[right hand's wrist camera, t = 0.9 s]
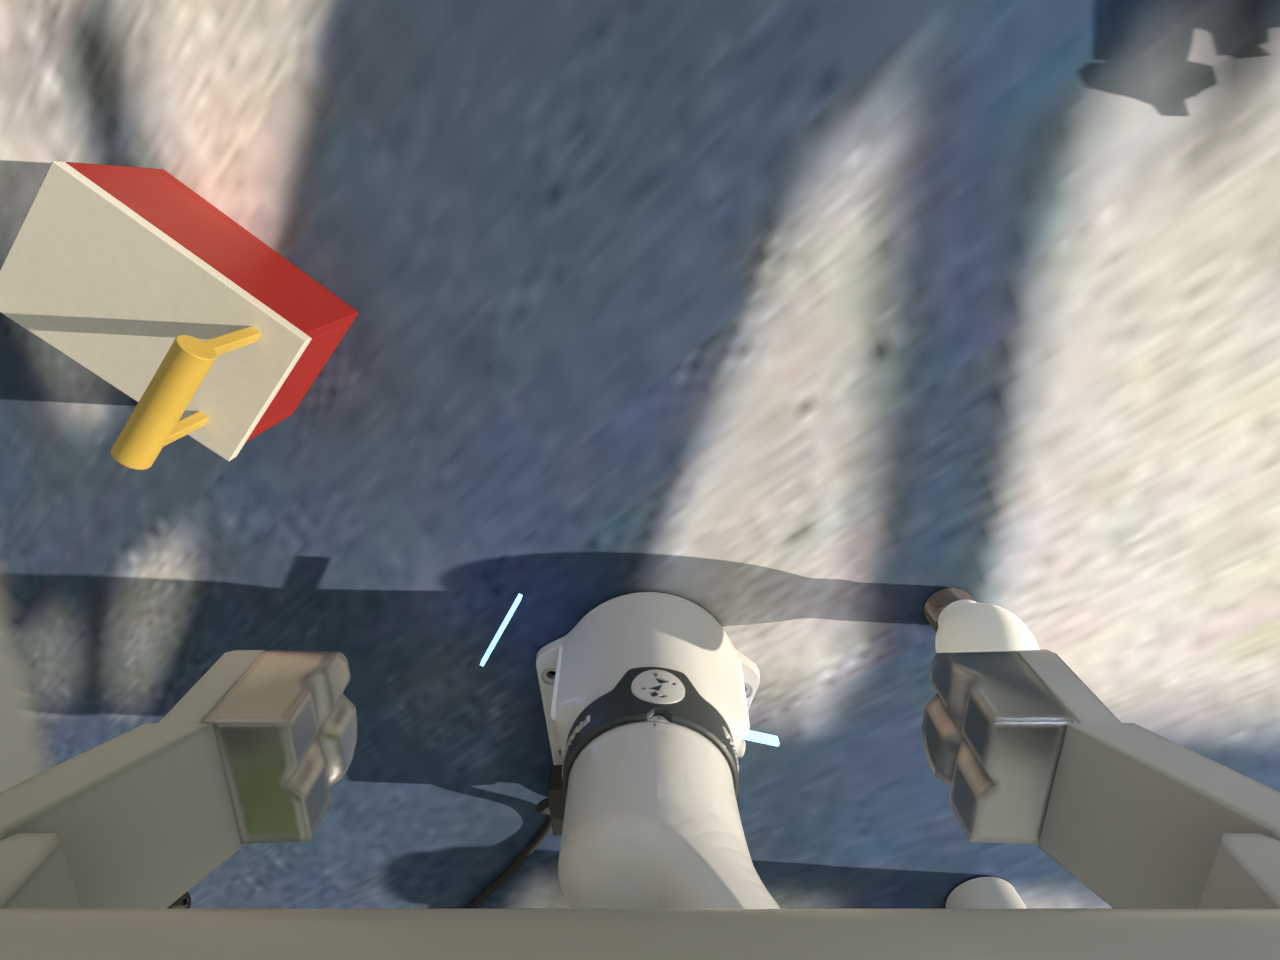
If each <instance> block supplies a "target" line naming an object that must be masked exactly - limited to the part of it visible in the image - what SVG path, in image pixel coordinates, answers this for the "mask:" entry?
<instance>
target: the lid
mask: <svg viewBox="0 0 1280 960" xmlns="http://www.w3.org/2000/svg"><path fill="white" fill-rule="evenodd" d="M0 312H1V313H2V314H4V315H5V316H7V317H8V318H10V319H11V320H13V321H15V322H16V323H18V324H19V325H21V326H22V327H24V328H25V329H27V330H28V331H30V332H31V333H33V334H34V335H36V336H37V337H39V338H41V339H42V340H44V341H45V342H47V343H48V344H50V345H51V346H53V347H54V348H56V349H57V350H59V351H60V352H62V353H63V354H65V355H67V356H68V357H70V358H71V359H73V360H74V361H76V362H77V363H79V364H80V365H82V366H83V367H85V368H86V369H88V370H89V371H91V372H93V373H94V374H96V375H97V376H99V377H100V378H102V379H103V380H105V381H106V382H108V383H109V384H111V385H112V386H114V387H115V388H117V389H119V390H120V391H122V392H123V393H125V394H126V395H128V396H129V397H131V398H132V399H134V400H135V401H137V402H138V404H137V406H136V407H135V409H134V411H133V413H132V414H131V416H130V418H129V420H128V421H127V423H126V425H125V426H124V428H123V430H122V432H121V433H120V435H119V437H118V439H117V440H116V442H115V444H114V445H113V447H112V449H111V455H112V457H113V458H114V459H115V460H116V461H117V462H118V463H120V464H122V465H123V466H126V467H128V468H132V469H137V470H144V469H148V468H149V467H151V466H152V464H153V462H154V461H155V459H156V457H157V456H158V454H159V452H160V451H161V449H162V448H163V446H165V445H167V444H169V443H171V442H173V441H175V440H177V439H179V438H181V437H183V436H185V435H189V436H190V437H192V438H194V439H195V440H197V441H198V442H200V443H201V444H203V445H204V446H206V447H207V448H209V449H210V450H212V451H213V452H215V453H216V454H218V455H220V456H221V457H223V458H224V459H226V460H227V461H230V460H232V459H233V458H235V457H236V456H237V455H238V453H239V451H240V450H241V448H242V447H243V445H244V444H245V442H246V441H247V439H248V437H249V436H250V434H251V433H252V431H253V430H254V428H255V427H256V425H257V423H258V422H259V420H260V419H261V417H262V416H263V414H264V413H265V411H266V409H267V408H268V406H269V405H270V403H271V402H272V400H273V399H274V397H275V395H276V394H277V392H278V391H279V389H280V388H281V386H282V385H283V383H284V381H285V380H286V378H287V377H288V375H289V374H290V372H291V371H292V369H293V367H294V366H295V364H296V363H297V361H298V360H299V358H300V357H301V355H302V353H303V352H304V350H305V349H306V347H307V346H308V344H309V343H310V341H311V339H312V338H311V337H309V336H308V335H306V334H305V333H304V332H302V331H301V330H299V329H298V328H297V327H295V326H294V325H292V324H291V323H290V322H288V321H287V320H285V319H284V318H283V317H281V316H280V315H278V314H277V313H276V312H274V311H273V310H271V309H270V308H269V307H267V306H266V305H264V304H263V303H262V302H260V301H259V300H257V299H256V298H255V297H253V296H252V295H250V294H249V293H248V292H246V291H245V290H243V289H242V288H241V287H239V286H238V285H236V284H235V283H234V282H232V281H231V280H229V279H228V278H227V277H225V276H224V275H222V274H221V273H220V272H218V271H217V270H215V269H214V268H213V267H211V266H210V265H208V264H207V263H206V262H204V261H203V260H201V259H200V258H199V257H197V256H196V255H194V254H193V253H192V252H190V251H189V250H187V249H186V248H185V247H183V246H182V245H180V244H179V243H178V242H176V241H175V240H173V239H172V238H171V237H169V236H168V235H166V234H165V233H163V232H162V231H161V230H159V229H158V228H156V227H155V226H154V225H152V224H151V223H149V222H148V221H147V220H145V219H144V218H142V217H141V216H140V215H138V214H137V213H135V212H134V211H133V210H131V209H130V208H128V207H127V206H126V205H124V204H123V203H121V202H120V201H119V200H117V199H116V198H114V197H113V196H112V195H110V194H109V193H107V192H106V191H105V190H103V189H102V188H100V187H99V186H98V185H96V184H95V183H93V182H92V181H91V180H89V179H88V178H86V177H85V176H84V175H82V174H81V173H79V172H78V171H77V170H75V169H74V168H72V167H71V166H70V165H68V164H67V163H65V162H58V161H53V162H52V164H51V166H50V168H49V170H48V172H47V174H46V176H45V178H44V180H43V182H42V184H41V186H40V189H39V191H38V193H37V195H36V197H35V199H34V201H33V203H32V205H31V207H30V209H29V211H28V213H27V216H26V218H25V220H24V222H23V224H22V226H21V228H20V230H19V232H18V234H17V236H16V238H15V240H14V243H13V245H12V247H11V249H10V251H9V253H8V255H7V257H6V259H5V261H4V263H3V265H2V267H1V270H0Z"/></svg>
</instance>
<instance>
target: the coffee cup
mask: <svg viewBox="0 0 1280 960" xmlns="http://www.w3.org/2000/svg"><path fill="white" fill-rule="evenodd" d="M945 909H1027V908H1026V906H1025V904H1024V903H1023V901H1022V900H1021V898H1020V897H1019V895H1018V894H1017V892H1016V890H1015V889H1014V887H1013V886H1012V885H1011V884H1010V883H1008V882H1007V881H1005V880H1003V879H1000V878H995V877H979V878H975V879H971V880H968V881H966V882H964V883H962V884H960V885H959V886H958V887H956V888H955V889H954V890H953V891H952V892H951V893H950V895H949V896H948V898H947V901H946V905H945Z"/></svg>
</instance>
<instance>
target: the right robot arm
mask: <svg viewBox="0 0 1280 960" xmlns="http://www.w3.org/2000/svg"><path fill="white" fill-rule="evenodd" d="M522 596H523V595H522V594H518V596H517V598H516V600H515V601H514V603H513V605H512V607H511V608H510V610H509V612H508V614H507V616H506V617H505V619H504V621H503V623H502V624H501V626H500V628H499V630H498V632H497V633H496V635H495V637H494V639H493V640H492V642H491V644H490V646H489V648H488V649H487V651H486V653H485V655H484V656H483V658H482V660H481V663H480V665H481V666H484V665H485V663H486V661H487V659H488V658H489V656H490V654H491V652H492V650H493V649H494V647H495V645H496V643H497V642H498V640H499V638H500V636H501V635H502V633H503V631H504V629H505V627H506V626H507V624H508V622H509V620H510V619H511V617H512V615H513V613H514V612H515V610H516V608H517V606H518V604H519V603H520V601H521V599H522ZM536 669H537V674H538V680H539V685H540V691H541V697H542V702H543V708H544V713H545V719H546V724H547V730H548V735H549V741H550V747H551V752H552V758H553V763H554V765H551V769H550V775H549V782H548V788H547V794H548V798H546V799H544V800H542V801H541V802H539V803H538V805H537V812H538V813H540V814H544V815H548V817H547V820H546V822H545V824H544V826H543V827H542V829H541V830H540V832H539V833H538V834H537V835H536V837H535V838H534V839H533V840H532V841H531V843H530V844H529V845H528V846H527V847H526V848H525V849H524V850H523V852H522V853H521V854H520V855H519V856H518V857H517V858H516V859H515V861H514V862H513V863H512V864H511V865H510V866H509V867H508V868H507V869H506V870H505V871H504V872H503V873H502V874H501V875H500V876H499V877H498V878H497V879H496V880H495V881H494V882H493V883H492V884H491V885H489V886H488V887H487V888H486V889H485V890H484V891H483V892H482V893H481V894H479V895H478V896H477V897H476V898H475V899H474V900H473V901H472V902H471V903H470V904H469V905H468V906H467V907H466V908H465V909H167V908H168V907H169V906H170V905H171V904H173V903H174V902H175V901H176V900H178V899H179V898H180V897H181V896H183V895H184V894H185V893H186V892H187V891H189V890H190V889H191V888H192V887H194V886H195V885H196V884H197V883H199V882H200V881H201V880H202V879H203V878H205V877H206V876H207V875H208V874H210V873H211V872H212V871H213V870H214V869H216V868H217V867H218V866H219V865H221V864H222V863H223V862H224V861H226V860H227V859H228V858H229V857H230V856H232V855H233V854H234V853H235V852H237V851H238V850H239V849H240V848H241V847H242V845H241V844H249V843H283V842H310V841H311V839H312V837H313V835H314V833H315V831H316V829H317V828H318V826H319V824H320V822H321V820H322V818H323V816H324V814H325V812H326V811H327V809H328V807H329V805H330V803H331V798H330V792H329V787H330V786H331V785H333V784H334V783H335V782H337V781H338V780H340V779H341V778H343V777H344V776H345V774H346V772H347V770H348V768H349V766H350V764H351V762H352V759H353V755H354V751H355V746H356V742H357V723H358V721H357V714H356V707H355V705H354V704H353V703H352V702H351V701H350V700H349V699H348V698H347V697H346V696H345V695H344V694H343V691H344V690H345V688H346V686H347V685H348V683H349V681H350V680H351V676H350V671H349V666H348V661H347V658H346V657H345V656H344V655H343V654H342V653H341V652H330V651H281V650H270V651H267V650H234V651H230V652H226V653H224V654H223V655H222V656H221V657H220V658H219V659H218V661H217V662H216V663H215V664H214V665H213V666H212V667H211V668H210V669H209V670H208V671H207V672H206V673H205V674H204V675H203V676H202V677H201V679H200V680H199V681H198V682H197V683H196V684H195V685H194V686H193V687H192V688H191V689H190V690H189V691H188V692H187V693H186V694H185V695H184V696H183V698H182V699H181V700H180V701H179V702H178V703H177V704H176V705H175V706H174V707H173V708H172V709H171V710H170V711H169V712H168V713H167V714H166V715H165V717H164V718H163V719H162V720H161V721H160V722H159V723H146V724H143V725H141V726H139V727H137V728H135V729H133V730H131V731H129V732H127V733H124V734H122V735H120V736H118V737H116V738H114V739H112V740H110V741H108V742H105V743H103V744H101V745H99V746H97V747H95V748H93V749H91V750H89V751H86V752H84V753H82V754H80V755H78V756H76V757H74V758H72V759H70V760H68V761H65V762H63V763H61V764H59V765H57V766H55V767H53V768H51V769H49V770H46V771H44V772H42V773H40V774H38V775H36V776H34V777H32V778H30V779H27V780H25V781H23V782H21V783H19V784H17V785H15V786H13V787H11V788H8V789H6V790H4V791H2V792H0V960H1280V792H1277V791H1275V790H1273V789H1271V788H1269V787H1267V786H1265V785H1263V784H1261V783H1259V782H1256V781H1254V780H1252V779H1250V778H1248V777H1246V776H1244V775H1242V774H1240V773H1238V772H1235V771H1233V770H1231V769H1229V768H1227V767H1225V766H1223V765H1221V764H1219V763H1216V762H1214V761H1212V760H1210V759H1208V758H1206V757H1204V756H1202V755H1200V754H1198V753H1195V752H1193V751H1191V750H1189V749H1187V748H1185V747H1183V746H1181V745H1179V744H1177V743H1174V742H1172V741H1170V740H1168V739H1166V738H1164V737H1162V736H1160V735H1158V734H1155V733H1153V732H1151V731H1149V730H1147V729H1145V728H1143V727H1141V726H1139V725H1137V724H1134V723H1121V722H1120V721H1119V720H1118V719H1117V718H1116V716H1115V715H1114V714H1113V713H1112V712H1111V711H1110V710H1109V709H1108V708H1107V707H1106V706H1105V705H1104V704H1103V703H1102V702H1101V701H1100V700H1099V699H1098V697H1097V696H1096V695H1095V694H1094V693H1093V692H1092V691H1091V690H1090V689H1089V688H1088V687H1087V686H1086V685H1085V684H1084V683H1083V682H1082V681H1081V679H1080V678H1079V677H1078V676H1077V675H1076V674H1075V673H1074V672H1073V671H1072V670H1071V669H1070V668H1069V667H1068V666H1067V665H1066V664H1065V663H1064V661H1063V660H1062V659H1061V658H1060V657H1059V656H1058V655H1057V654H1056V653H1053V652H1051V651H1049V650H1020V651H1000V652H955V653H936V655H935V657H934V659H933V661H932V664H931V670H930V676H929V680H930V681H931V683H932V685H933V686H934V688H935V690H936V691H937V694H936V695H935V696H934V697H933V698H932V699H931V700H930V701H929V702H928V703H927V704H926V705H925V707H924V716H923V724H922V730H923V741H924V749H925V752H926V755H927V759H928V762H929V764H930V766H931V768H932V770H933V772H934V774H935V776H936V777H937V778H939V779H940V780H942V781H943V782H945V783H946V784H947V785H949V786H950V787H951V792H950V798H949V803H950V805H951V807H952V809H953V810H954V812H955V814H956V816H957V818H958V820H959V822H960V824H961V826H962V827H963V829H964V831H965V833H966V835H967V837H968V839H969V841H970V842H995V843H1031V844H1039V845H1038V847H1039V848H1040V849H1041V850H1043V851H1044V852H1045V853H1046V854H1047V855H1049V856H1050V857H1051V858H1052V859H1054V860H1055V861H1056V862H1057V863H1058V864H1060V865H1061V866H1062V867H1063V868H1065V869H1066V870H1067V871H1068V872H1070V873H1071V874H1072V875H1073V876H1074V877H1076V878H1077V879H1078V880H1079V881H1081V882H1082V883H1083V884H1084V885H1085V886H1087V887H1088V888H1089V889H1090V890H1092V891H1093V892H1094V893H1095V894H1096V895H1098V896H1099V897H1100V898H1101V899H1103V900H1104V901H1105V902H1106V903H1107V904H1109V905H1110V906H1111V907H1112V908H1114V909H781V908H780V907H779V905H778V904H777V903H776V902H775V900H774V899H773V898H772V896H771V895H770V894H769V892H768V891H767V889H766V887H765V886H764V884H763V883H762V881H761V880H760V878H759V876H758V874H757V872H756V870H755V868H754V866H753V863H752V860H751V858H750V854H749V851H748V847H747V844H746V840H745V836H744V832H743V828H742V824H741V820H740V816H739V811H738V806H737V802H736V798H737V794H738V789H739V778H738V771H739V764H738V757H743V755H744V752H745V740H749V741H754V742H759V743H764V744H768V745H773V746H779V740H778V736H774V735H769V734H765V733H760V732H755V731H751V730H749V717H748V709H749V707H750V704H751V702H752V699H753V697H754V695H755V692H756V690H757V687H758V685H759V682H760V672H759V668H758V666H757V665H756V664H755V663H754V662H753V661H752V660H750V659H749V658H748V657H747V656H745V655H744V654H742V653H741V652H739V651H738V650H736V648H735V647H734V646H733V645H732V643H731V641H730V640H729V638H728V636H727V634H726V633H725V631H724V629H723V628H722V626H721V625H720V624H719V623H718V621H717V620H716V619H715V618H714V617H713V616H712V615H711V614H710V613H708V612H707V611H706V610H704V609H703V608H702V607H700V606H699V605H697V604H695V603H693V602H691V601H689V600H687V599H684V598H682V597H678V596H675V595H671V594H666V593H659V592H638V593H631V594H626V595H622V596H619V597H616V598H613V599H610V600H608V601H606V602H604V603H602V604H600V605H599V606H597V607H595V608H594V609H593V610H591V611H590V612H589V613H587V614H586V615H585V616H584V617H583V618H582V619H581V620H580V621H579V622H578V624H577V625H576V626H575V627H574V628H573V629H572V630H571V631H570V632H569V633H568V634H567V635H566V636H564V637H562V638H559V639H557V640H555V641H553V642H551V643H549V644H547V645H545V646H544V647H542V648H541V649H540V650H539V651H538V653H537V656H536ZM549 671H555V672H556V674H550V673H549ZM744 686H745V687H744ZM743 739H745V740H743ZM551 828H552V829H553V835H562V836H561V845H560V853H559V861H558V879H559V885H560V889H561V893H562V897H563V899H564V902H565V904H566V906H567V908H568V909H476V908H477V907H478V906H479V905H480V904H481V903H483V902H484V901H485V900H486V899H487V898H488V897H489V896H490V895H491V894H493V893H494V892H495V891H496V890H497V889H498V888H499V887H500V886H501V885H503V884H504V883H505V882H506V881H507V880H508V879H509V878H510V877H511V876H512V875H513V874H514V872H515V871H516V870H517V869H518V868H519V867H520V866H521V865H522V864H523V862H524V861H525V860H526V859H527V858H528V857H529V856H530V855H531V854H532V852H533V851H534V850H535V849H536V848H537V847H538V846H539V844H540V843H541V842H542V841H543V839H544V838H545V837H546V835H547V834H548V832H549V831H550V829H551Z"/></svg>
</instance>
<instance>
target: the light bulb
mask: <svg viewBox="0 0 1280 960" xmlns="http://www.w3.org/2000/svg"><path fill="white" fill-rule="evenodd" d="M924 612H925V616H926V618H927V620H928V621H929V623H930V624H931V626H932V627H933V628H934V630H935V631H936V644H935V648H936V653H955V652H1000V651H1020V650H1040V649H1039V646H1038V644H1037V642H1036V639H1035V637H1034V636H1033V634H1032V633H1031V632H1030V630H1029V629H1028V628H1027V626H1026V625H1025V624H1024V623H1023V622H1022V621H1021V620H1020V619H1019V618H1017V617H1016V616H1015V615H1014V614H1012V613H1011V612H1009V611H1007V610H1005V609H1003V608H1001V607H999V606H995V605H991V604H987V603H979V602H978V603H977V602H975V601H974V599H973V598H972V597H971V596H970V595H969V594H968V593H967V592H965V591H963V590H960V589H956V588H947V589H943V590H940V591H938V592H936V593H934V594H933V595H932V596H931V597H930V598H929V599H928V600H927V602H926V604H925V608H924Z"/></svg>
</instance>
